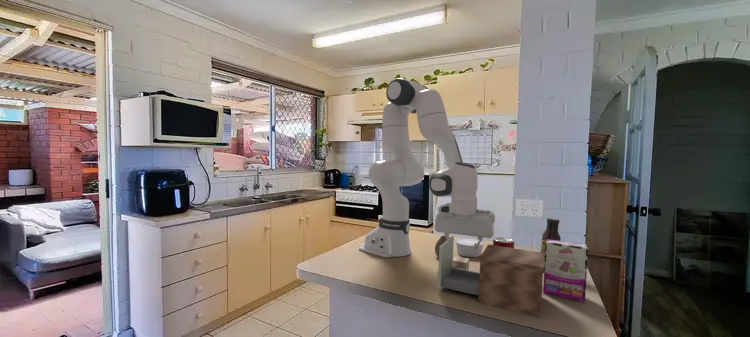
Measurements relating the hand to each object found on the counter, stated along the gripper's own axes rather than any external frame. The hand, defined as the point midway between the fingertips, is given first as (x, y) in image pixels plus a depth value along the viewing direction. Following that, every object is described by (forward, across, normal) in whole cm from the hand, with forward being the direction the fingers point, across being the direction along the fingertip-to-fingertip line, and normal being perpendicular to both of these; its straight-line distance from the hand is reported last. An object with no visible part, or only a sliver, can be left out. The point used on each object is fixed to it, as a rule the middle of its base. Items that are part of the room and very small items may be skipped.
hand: (463, 247), depth 114 cm
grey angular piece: (+9, -4, +13) cm, 16 cm away
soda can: (+10, -12, -9) cm, 18 cm away
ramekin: (+9, +3, -24) cm, 26 cm away
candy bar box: (+11, -31, +1) cm, 33 cm away
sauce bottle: (+10, -27, -20) cm, 35 cm away
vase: (+9, +11, -13) cm, 20 cm away
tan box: (+10, -17, +13) cm, 24 cm away
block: (+10, +1, 0) cm, 10 cm away
